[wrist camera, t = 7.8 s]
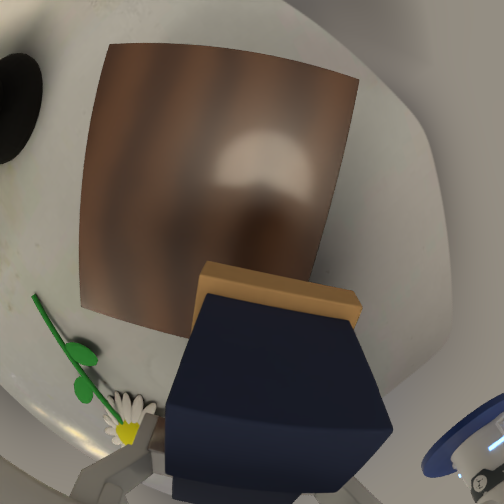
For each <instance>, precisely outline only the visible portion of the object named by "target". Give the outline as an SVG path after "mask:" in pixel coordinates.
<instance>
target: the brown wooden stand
mask: <svg viewBox="0 0 504 504" xmlns="http://www.w3.org/2000/svg"><path fill="white" fill-rule="evenodd" d="M358 85H359V79H356V78H353V77H350V76H347V75H344V74H341V73H338V72H334V71H331V70H328V69H324V68H321V67H317V66H313V65H310V64H306V63H302V62H298V61H294V60H289V59H285V58H280V57H275V56H271V55H265V54H260V53H254V52H248V51H242V50H235V49H228V48H220V47H211V46H201V45H188V44H169V43H124V44H110V45H109V48H108V51H107V54H106V58H105V61H104V65H103V68H102V72H101V76H100V80H99V84H98V88H97V93H96V97H95V102H94V106H93V111H92V116H91V122H90V127H89V133H88V140H87V146H86V153H85V161H84V170H83V179H82V190H81V204H80V224H79V278H80V298H81V307H83V308H86V309H89V310H92V311H95V312H98V313H101V314H104V315H107V316H110V317H113V318H116V319H120V320H123V321H126V322H129V323H133V324H136V325H140V326H143V327H147V328H150V329H154V330H157V331H161V332H165V333H168V334H172V335H176V336H180V337H184V338H188V339H189V338H190V335H191V329H192V322H193V314H194V307H195V300H196V294H197V287H198V280H199V275H200V273H201V271H202V269H203V267H204V265H205V263H206V261H212V262H216V263H221V264H226V265H230V266H235V267H239V268H244V269H249V270H253V271H258V272H263V273H268V274H272V275H277V276H282V277H287V278H292V279H297V280H301V281H306V282H308V281H309V278H310V274H311V271H312V268H313V265H314V261H315V258H316V255H317V251H318V248H319V244H320V241H321V238H322V234H323V231H324V227H325V223H326V220H327V216H328V213H329V209H330V205H331V201H332V198H333V194H334V190H335V186H336V182H337V178H338V174H339V170H340V166H341V162H342V158H343V154H344V150H345V146H346V141H347V137H348V132H349V128H350V123H351V119H352V114H353V109H354V105H355V100H356V95H357V90H358Z"/></svg>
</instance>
